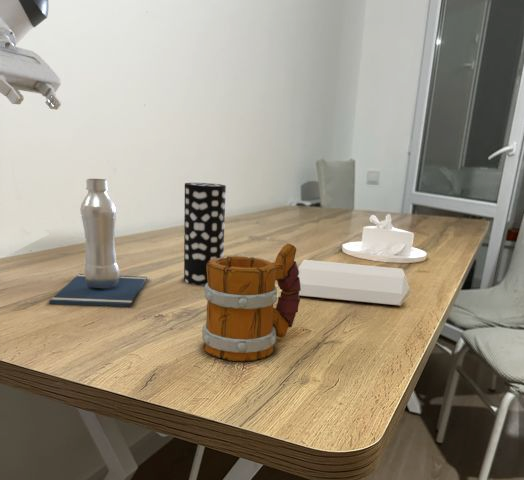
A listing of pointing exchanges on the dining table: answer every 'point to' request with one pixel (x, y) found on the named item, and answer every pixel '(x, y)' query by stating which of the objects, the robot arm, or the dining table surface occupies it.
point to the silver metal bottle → (99, 235)
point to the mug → (249, 304)
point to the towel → (100, 292)
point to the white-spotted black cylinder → (203, 229)
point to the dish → (385, 244)
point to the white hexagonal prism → (353, 282)
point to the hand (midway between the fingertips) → (38, 104)
